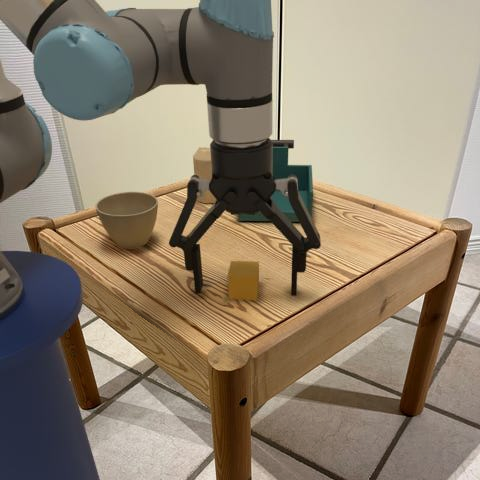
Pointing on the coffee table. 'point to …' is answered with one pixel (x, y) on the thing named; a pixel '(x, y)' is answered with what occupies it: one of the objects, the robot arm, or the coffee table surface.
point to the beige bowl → (128, 217)
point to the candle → (203, 171)
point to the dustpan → (282, 172)
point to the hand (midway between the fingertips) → (246, 289)
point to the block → (243, 280)
